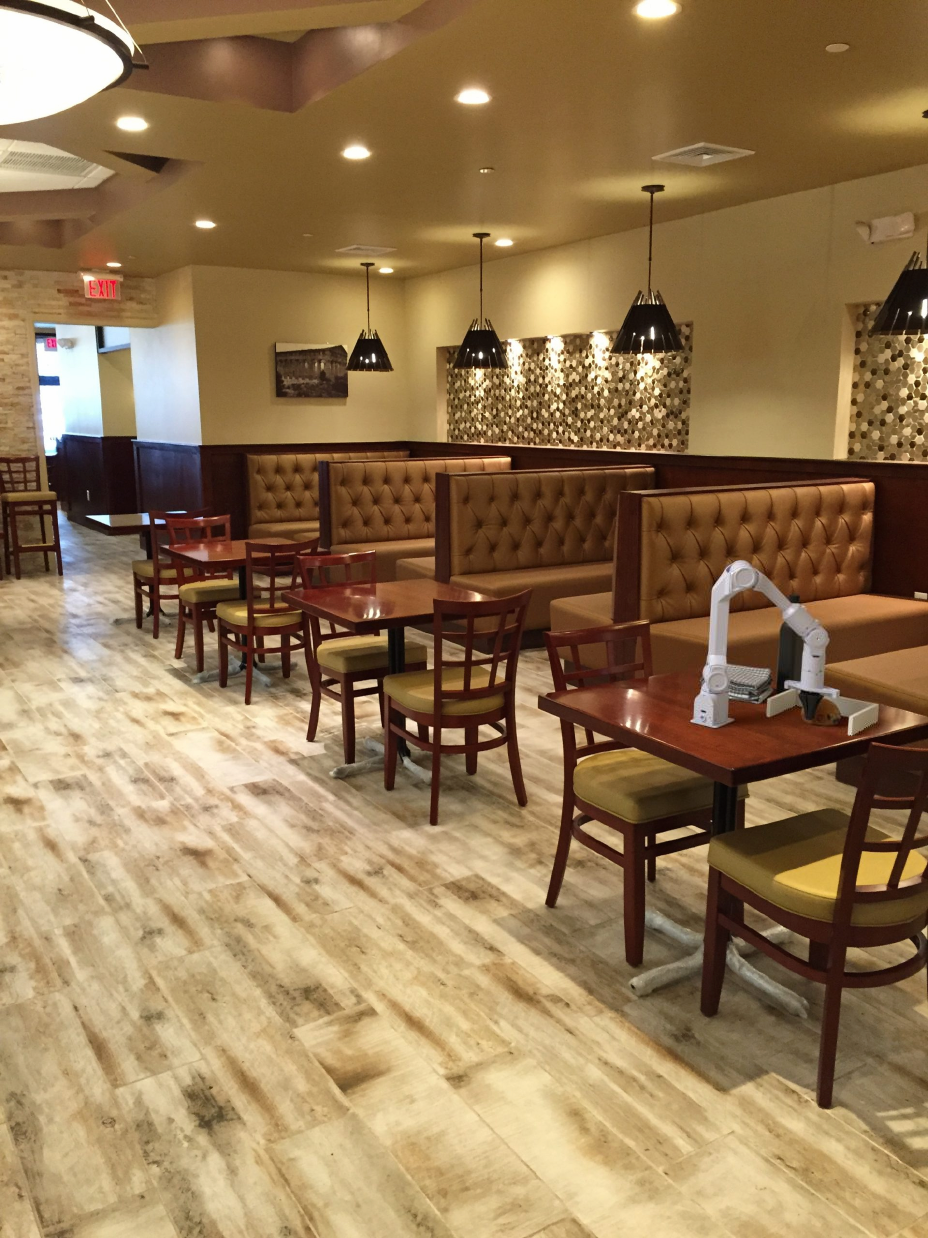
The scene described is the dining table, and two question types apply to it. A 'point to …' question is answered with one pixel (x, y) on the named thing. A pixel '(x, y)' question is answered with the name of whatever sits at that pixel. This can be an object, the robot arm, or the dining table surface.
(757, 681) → the towel
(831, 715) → the bread roll
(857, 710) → the box
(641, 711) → the dining table surface
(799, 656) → the wine bottle
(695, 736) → the dining table surface
